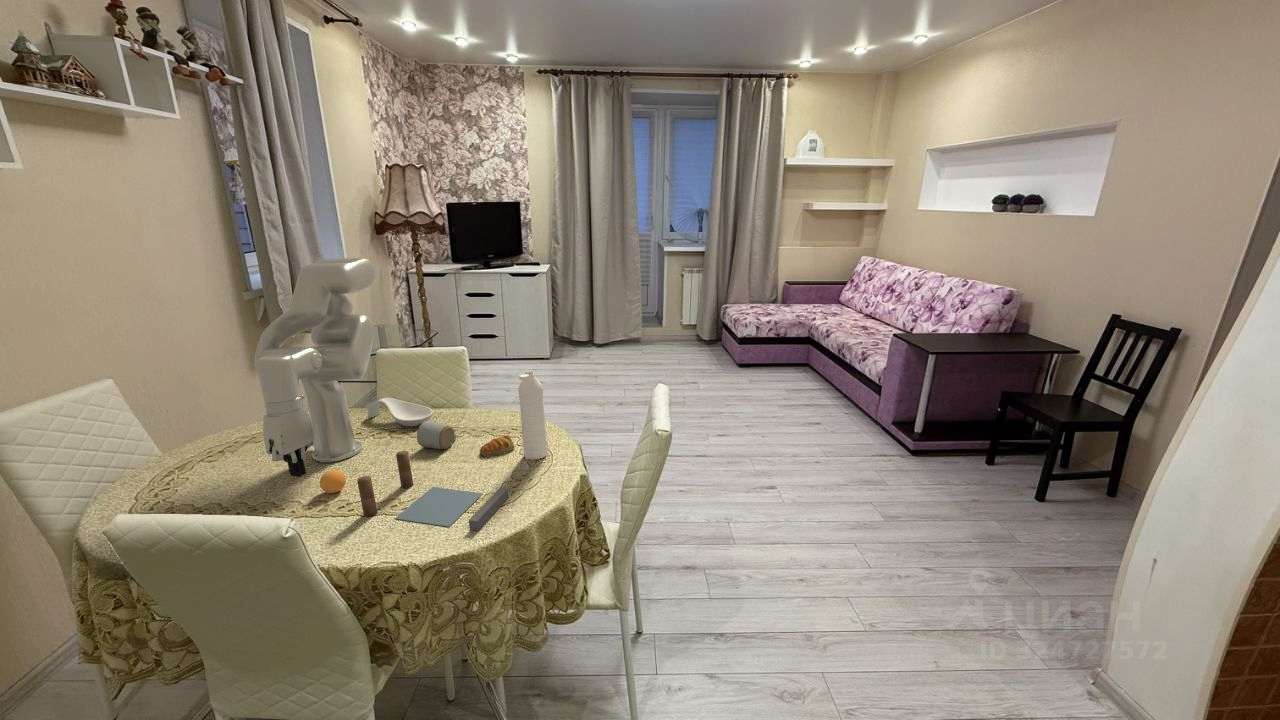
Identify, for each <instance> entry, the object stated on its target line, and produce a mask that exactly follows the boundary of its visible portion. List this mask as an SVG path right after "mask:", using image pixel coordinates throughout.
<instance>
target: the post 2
mask: <svg viewBox="0 0 1280 720" xmlns="http://www.w3.org/2000/svg"><path fill="white" fill-rule="evenodd" d="M395 457H396V463H397V464H396V465H397V470H398V475H399V481H400V486H401V487H400V488H401V489H409V488H412V487H413V486H414V481H413V480H414V479H413V473H412V468H411V461H410V455H409V451H407V450H400V451H397V452H396V453H395Z"/></svg>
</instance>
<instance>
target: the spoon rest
mask: <svg viewBox="0 0 1280 720" xmlns="http://www.w3.org/2000/svg"><path fill="white" fill-rule="evenodd" d="M380 404H383V405H385V406H386V408H387V410H388V412H389V413H390V415H391V417H393V419H394V420H395V421H396V422H397V423H398V424H399V425H401V426H404V427H408V426H411V427H416V426H420V425H421V424H422V423H423V422H425V421H430V419H431V418H432V416H433V414H434V410H433V409H432V408H430V407H428V406H426V405H422V404H418V403H414V402H413V403H412V402H409V401H405V400H401V399H397V398H392V397H383V398H380V399H379V400H378V399H377V400H375V401H373V402H372V403H371V404H370V405H369V408H368V410H367V418H368V419H371V418H370V417H373V418H375V417H377V416H379V415H380V414H381V411H380ZM374 416H375V417H374Z"/></svg>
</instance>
